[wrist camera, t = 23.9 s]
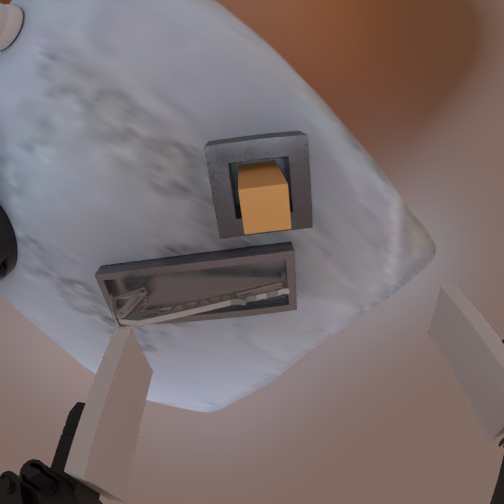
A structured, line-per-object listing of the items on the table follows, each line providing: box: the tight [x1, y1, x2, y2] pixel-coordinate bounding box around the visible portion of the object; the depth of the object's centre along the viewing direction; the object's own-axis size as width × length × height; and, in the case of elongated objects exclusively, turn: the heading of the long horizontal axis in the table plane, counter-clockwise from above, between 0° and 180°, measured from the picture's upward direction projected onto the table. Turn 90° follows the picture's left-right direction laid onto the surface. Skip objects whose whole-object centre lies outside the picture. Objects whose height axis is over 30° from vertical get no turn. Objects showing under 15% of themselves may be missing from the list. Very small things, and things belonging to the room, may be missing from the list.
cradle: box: [95, 242, 297, 324], centre depth 39 cm, size 26×9×2 cm, turn 97°
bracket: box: [110, 281, 289, 329], centre depth 37 cm, size 3×21×10 cm, turn 95°
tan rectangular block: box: [238, 160, 291, 234], centre depth 29 cm, size 4×4×10 cm
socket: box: [204, 131, 312, 239], centre depth 31 cm, size 10×10×4 cm
